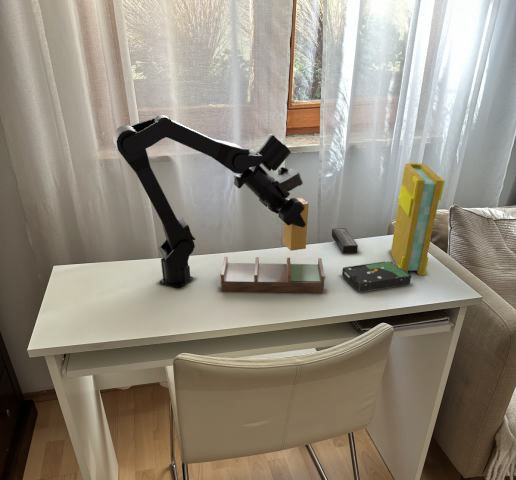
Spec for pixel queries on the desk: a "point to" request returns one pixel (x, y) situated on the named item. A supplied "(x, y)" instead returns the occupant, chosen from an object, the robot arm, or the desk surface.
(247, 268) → the rack
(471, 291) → the desk surface
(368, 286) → the disk drive
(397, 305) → the desk surface
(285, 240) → the package
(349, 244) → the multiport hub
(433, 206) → the book
